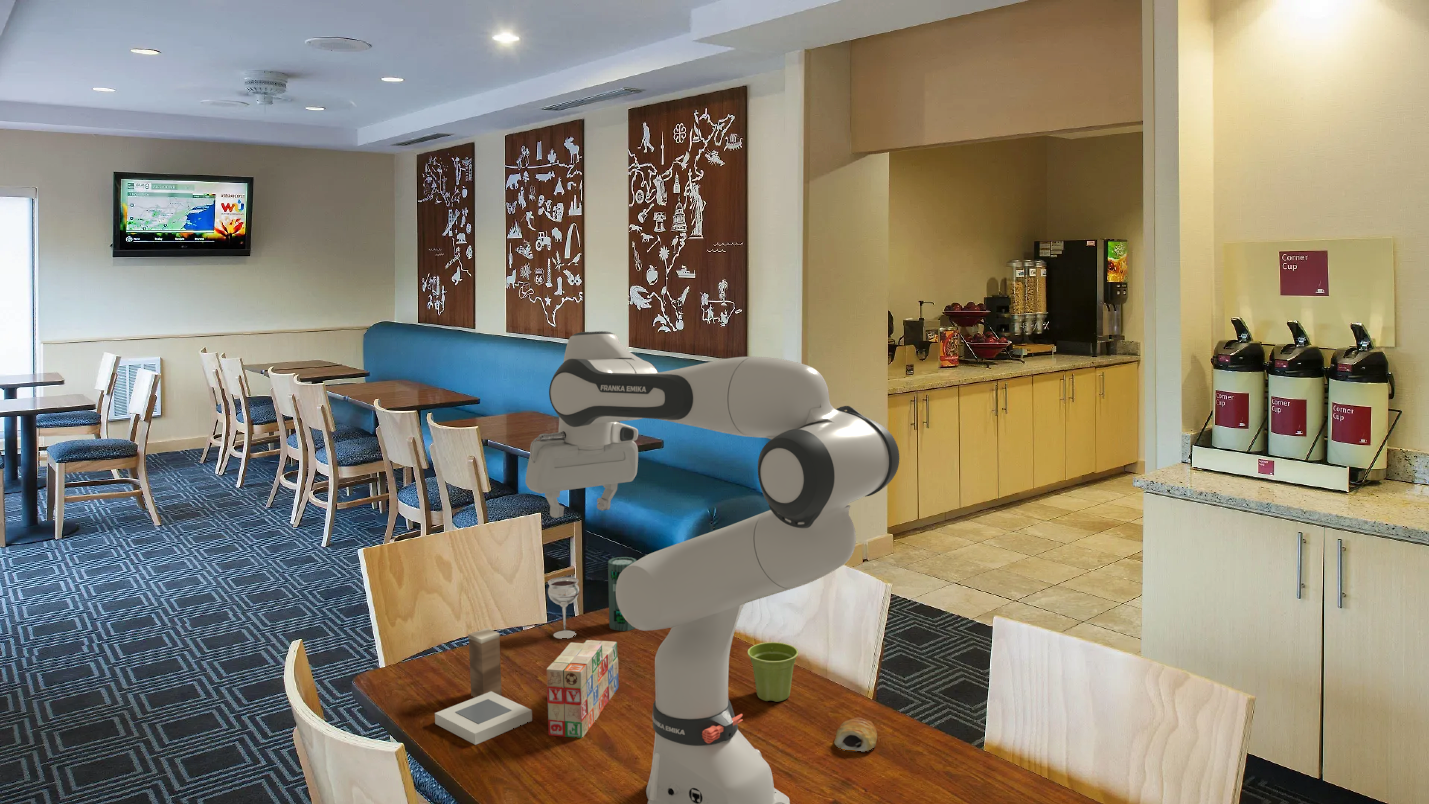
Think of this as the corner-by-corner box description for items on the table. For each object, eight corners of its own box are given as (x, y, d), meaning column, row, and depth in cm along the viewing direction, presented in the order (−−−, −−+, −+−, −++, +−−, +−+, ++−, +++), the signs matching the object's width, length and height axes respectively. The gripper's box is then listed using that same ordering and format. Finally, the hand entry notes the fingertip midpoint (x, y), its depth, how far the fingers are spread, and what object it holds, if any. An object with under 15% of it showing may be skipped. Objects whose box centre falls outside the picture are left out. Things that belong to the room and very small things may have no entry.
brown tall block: (501, 694, 189) (499, 633, 188) (483, 702, 186) (481, 639, 185) (488, 689, 192) (486, 628, 190) (470, 695, 189) (468, 634, 187)
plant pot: (769, 711, 182) (769, 665, 180) (737, 693, 189) (737, 649, 188) (808, 697, 187) (808, 653, 186) (776, 681, 195) (776, 638, 193)
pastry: (844, 726, 176) (844, 705, 175) (882, 732, 174) (883, 711, 173) (832, 750, 167) (833, 729, 167) (873, 757, 165) (873, 735, 164)
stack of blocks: (588, 685, 194) (586, 624, 192) (619, 687, 192) (617, 626, 191) (548, 736, 173) (545, 668, 171) (582, 739, 172) (580, 670, 170)
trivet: (532, 720, 179) (531, 709, 178) (475, 744, 170) (474, 733, 169) (491, 701, 186) (491, 690, 186) (435, 723, 178) (434, 712, 177)
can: (620, 632, 221) (618, 566, 219) (604, 625, 225) (603, 560, 223) (642, 626, 224) (641, 561, 222) (627, 619, 229) (625, 555, 227)
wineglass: (543, 637, 218) (541, 584, 216) (559, 627, 224) (558, 575, 223) (570, 642, 215) (568, 588, 214) (586, 631, 222) (584, 578, 220)
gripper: (543, 438, 153) (538, 526, 155) (646, 429, 167) (639, 510, 169) (520, 430, 157) (515, 516, 159) (622, 422, 171) (616, 501, 174)
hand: (580, 512), depth 164 cm, fingers open, 8 cm apart
